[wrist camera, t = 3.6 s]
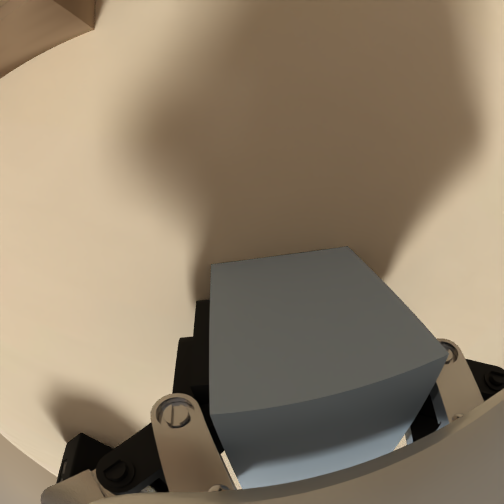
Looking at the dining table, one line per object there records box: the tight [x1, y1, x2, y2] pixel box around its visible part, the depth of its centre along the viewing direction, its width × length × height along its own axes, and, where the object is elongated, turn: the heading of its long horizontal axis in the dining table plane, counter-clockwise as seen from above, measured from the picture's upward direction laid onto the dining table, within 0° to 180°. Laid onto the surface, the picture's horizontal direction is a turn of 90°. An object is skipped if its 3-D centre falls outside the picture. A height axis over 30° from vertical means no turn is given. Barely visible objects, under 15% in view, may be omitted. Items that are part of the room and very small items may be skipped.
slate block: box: [209, 246, 449, 489], centre depth 8 cm, size 5×5×6 cm
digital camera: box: [56, 433, 113, 484], centre depth 13 cm, size 10×5×7 cm, turn 44°
